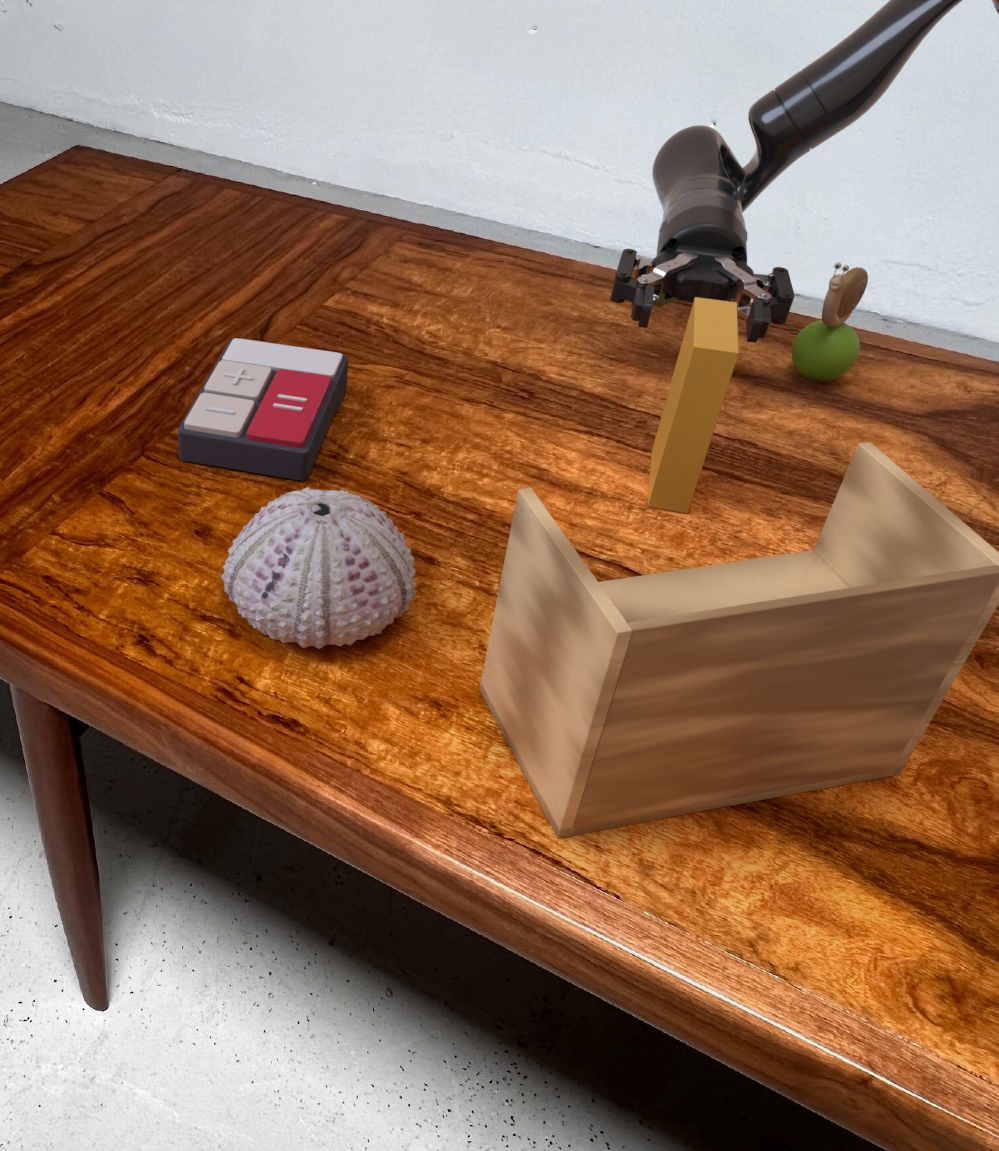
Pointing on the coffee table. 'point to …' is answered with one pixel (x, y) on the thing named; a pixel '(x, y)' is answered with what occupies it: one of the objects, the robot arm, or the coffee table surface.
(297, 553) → the sea urchin shell
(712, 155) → the robot arm
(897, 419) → the coffee table surface
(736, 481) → the coffee table surface
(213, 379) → the calculator
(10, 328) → the coffee table surface
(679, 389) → the mustard yellow pillar block
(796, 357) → the snail figurine
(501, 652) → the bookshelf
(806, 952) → the coffee table surface
